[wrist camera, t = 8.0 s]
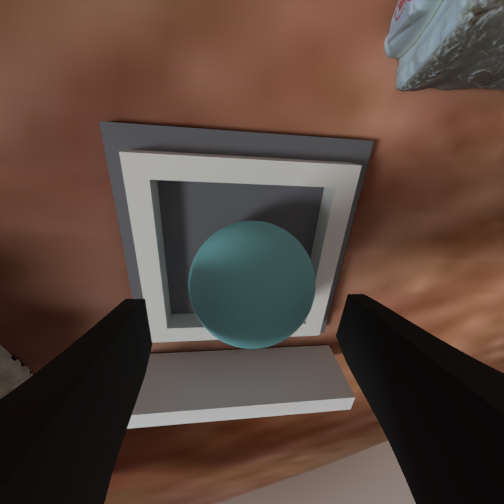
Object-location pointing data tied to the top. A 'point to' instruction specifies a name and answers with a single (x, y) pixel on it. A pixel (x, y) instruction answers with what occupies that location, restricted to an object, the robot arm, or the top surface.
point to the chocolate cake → (447, 44)
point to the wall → (239, 385)
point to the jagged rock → (11, 373)
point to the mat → (226, 207)
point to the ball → (252, 284)
